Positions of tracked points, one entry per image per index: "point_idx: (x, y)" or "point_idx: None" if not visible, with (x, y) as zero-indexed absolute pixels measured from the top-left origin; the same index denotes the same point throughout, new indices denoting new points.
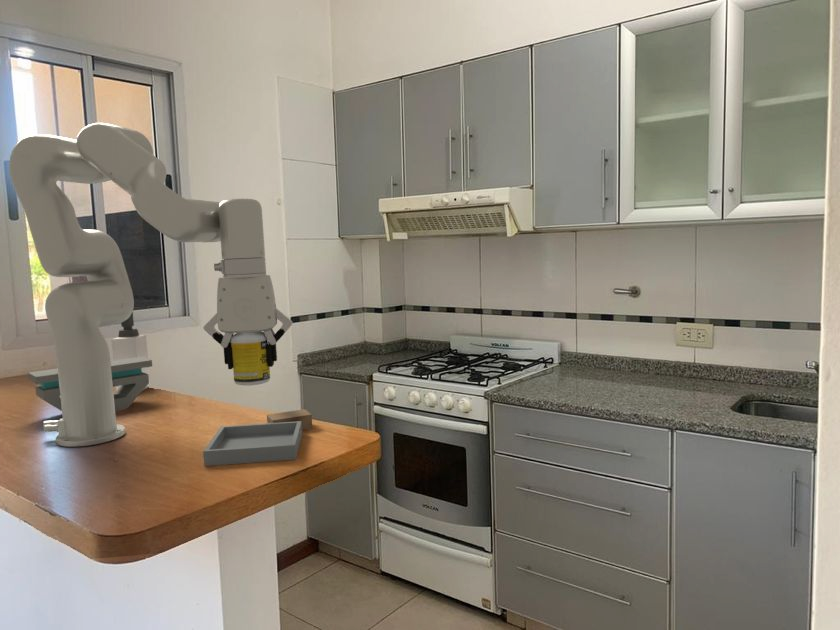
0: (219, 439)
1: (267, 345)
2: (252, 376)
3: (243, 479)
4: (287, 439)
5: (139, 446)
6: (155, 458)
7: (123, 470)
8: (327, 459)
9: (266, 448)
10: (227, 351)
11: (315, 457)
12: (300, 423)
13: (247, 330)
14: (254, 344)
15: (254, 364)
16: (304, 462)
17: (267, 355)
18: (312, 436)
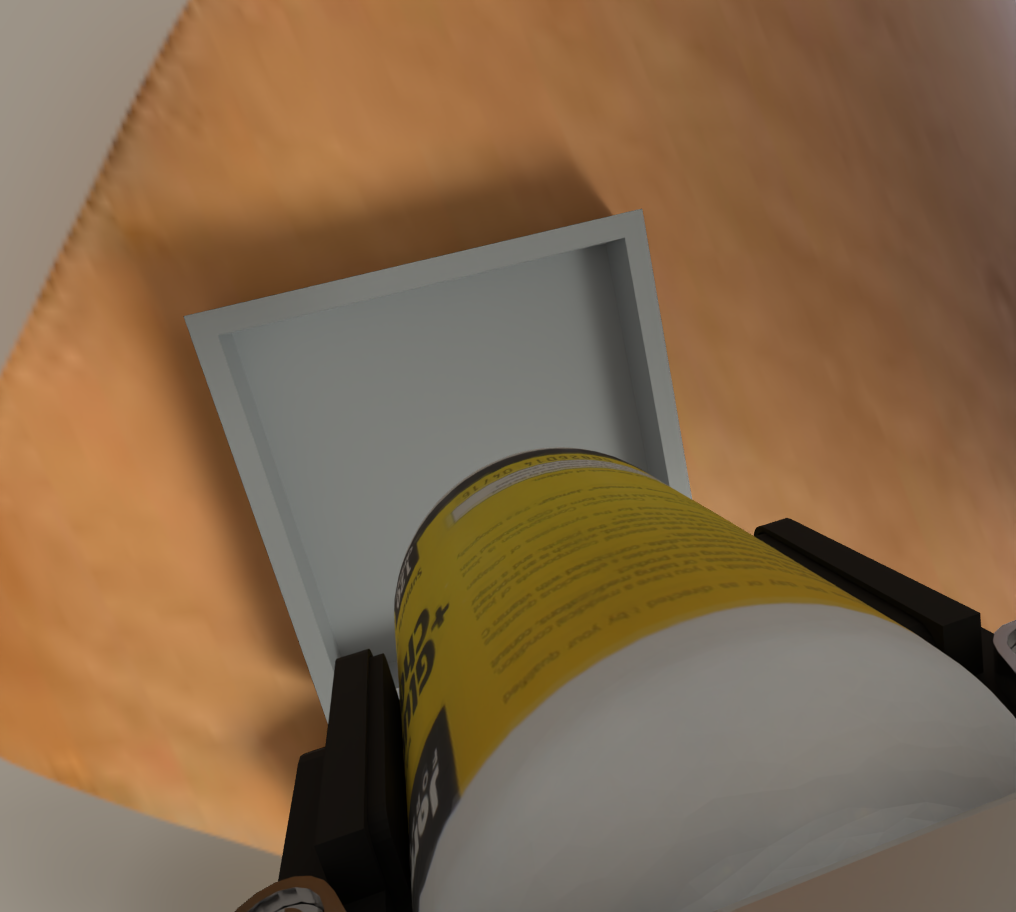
0: (658, 471)
1: (395, 871)
2: (498, 475)
3: (353, 27)
4: (354, 566)
5: (977, 468)
6: (859, 321)
7: (926, 168)
8: (28, 323)
9: (337, 280)
10: (924, 590)
11: (111, 352)
12: (318, 689)
13: (832, 868)
14: (542, 668)
15: (496, 530)
16: (139, 275)
17: (382, 723)
18: (266, 661)
